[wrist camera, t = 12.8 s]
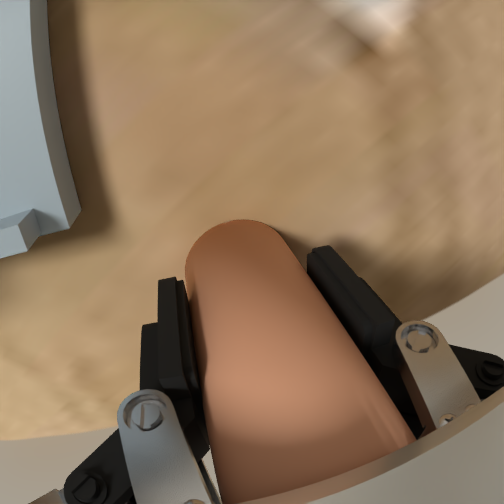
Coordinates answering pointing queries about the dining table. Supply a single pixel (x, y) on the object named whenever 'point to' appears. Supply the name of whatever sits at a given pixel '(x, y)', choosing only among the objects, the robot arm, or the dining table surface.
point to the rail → (30, 133)
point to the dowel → (278, 370)
